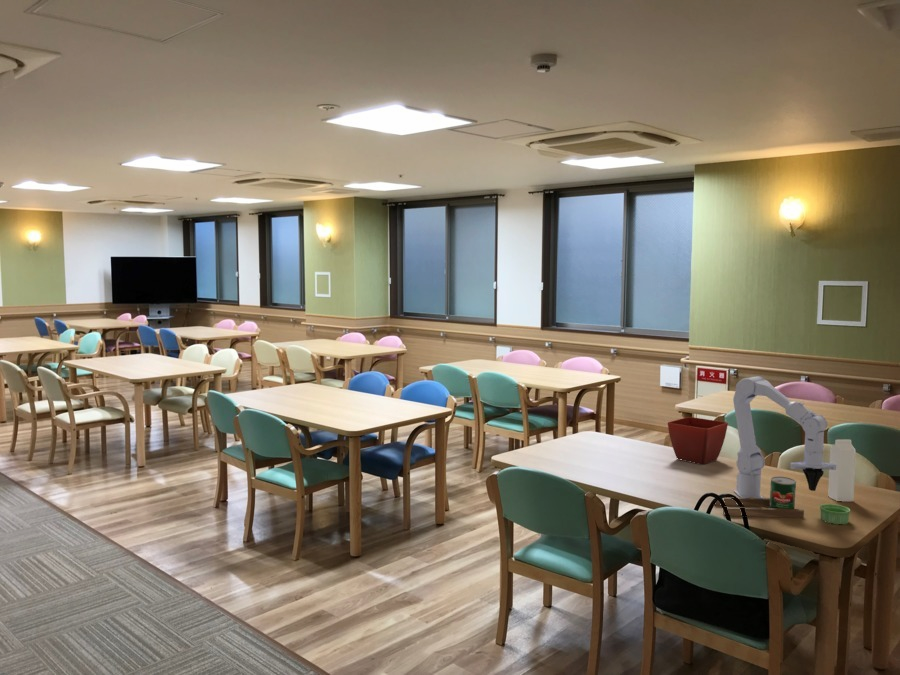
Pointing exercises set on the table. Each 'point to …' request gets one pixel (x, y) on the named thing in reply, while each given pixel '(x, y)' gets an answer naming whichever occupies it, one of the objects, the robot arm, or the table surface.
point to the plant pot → (697, 439)
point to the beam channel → (759, 511)
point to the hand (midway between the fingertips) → (812, 489)
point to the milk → (842, 471)
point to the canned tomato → (782, 493)
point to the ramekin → (834, 513)
